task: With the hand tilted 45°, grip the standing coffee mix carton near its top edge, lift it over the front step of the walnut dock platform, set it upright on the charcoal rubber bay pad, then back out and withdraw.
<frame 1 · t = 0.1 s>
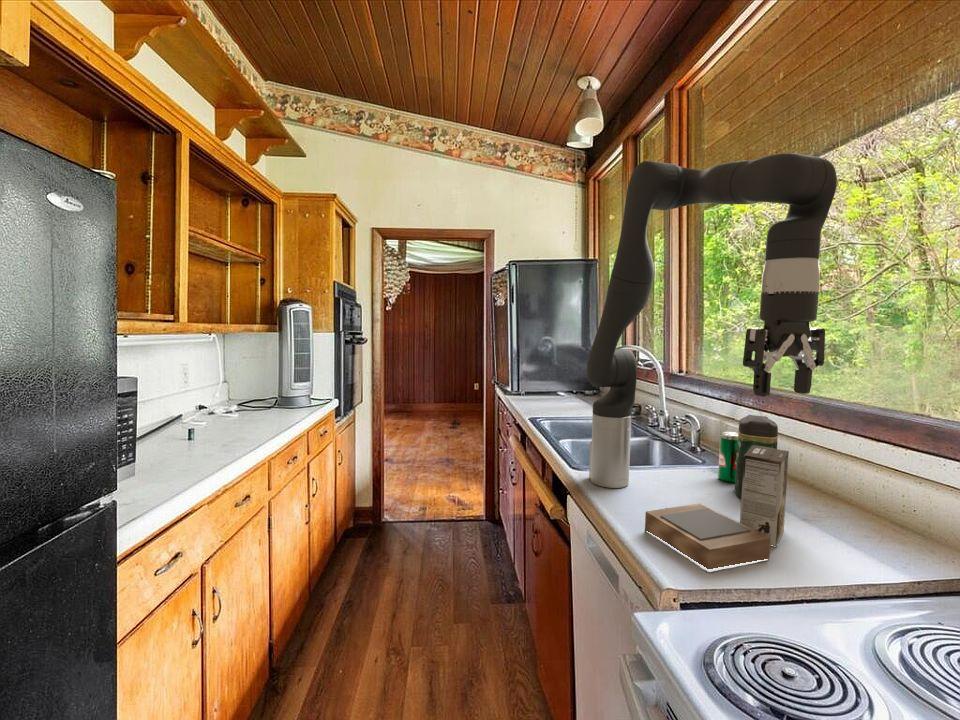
hand: (781, 394, 77), 29 cm above the worktop, tool pointing down, fingers open, 8 cm apart
soda can: (728, 480, 124), on the worktop
coffee box: (761, 535, 93), on the worktop
coffee jar: (753, 496, 113), on the worktop
dock: (703, 545, 89), on the worktop
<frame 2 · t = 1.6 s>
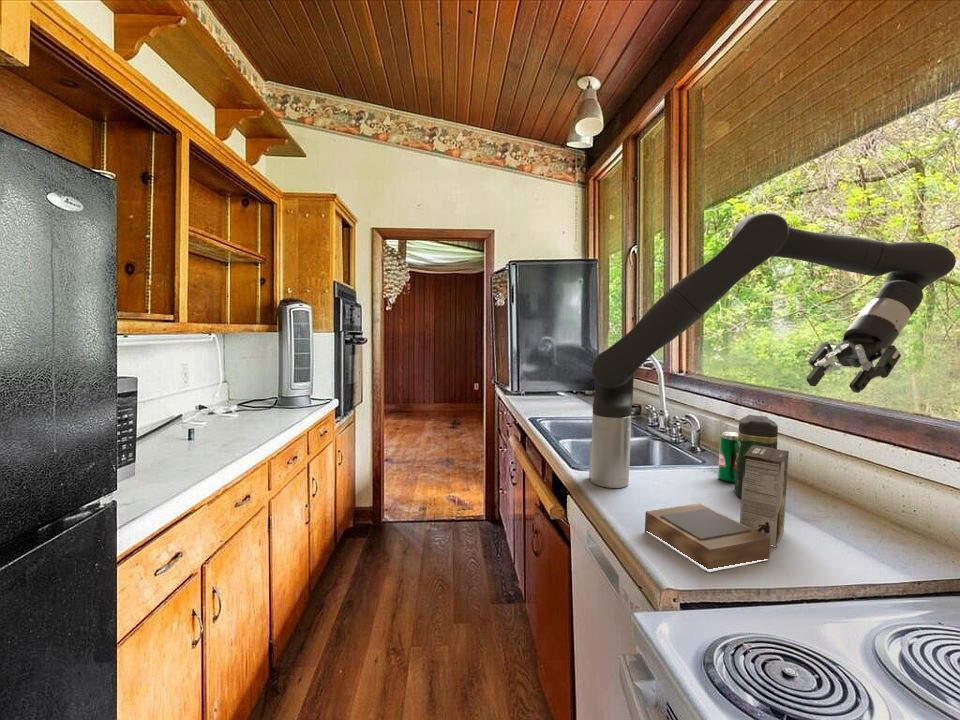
hand: (831, 386, 95), 28 cm above the worktop, tool tilted 45°, fingers open, 8 cm apart
nothing on the worktop moved.
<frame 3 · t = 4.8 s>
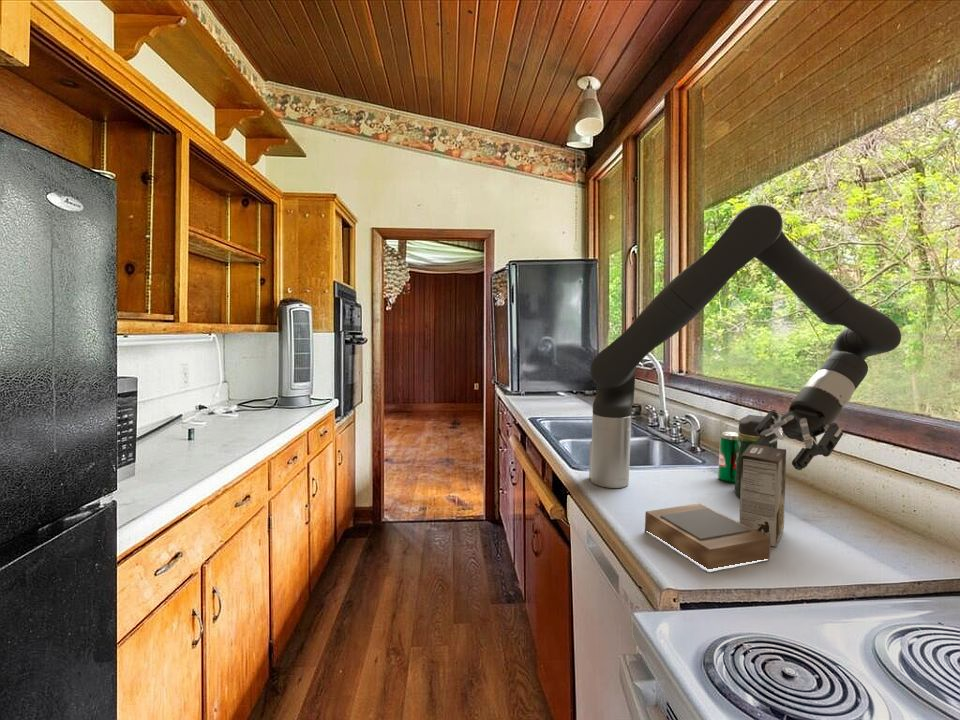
hand: (774, 460, 93), 14 cm above the worktop, tool tilted 45°, fingers open, 8 cm apart
coffee box: (761, 534, 93), on the worktop, touching gripper
everything else where it was.
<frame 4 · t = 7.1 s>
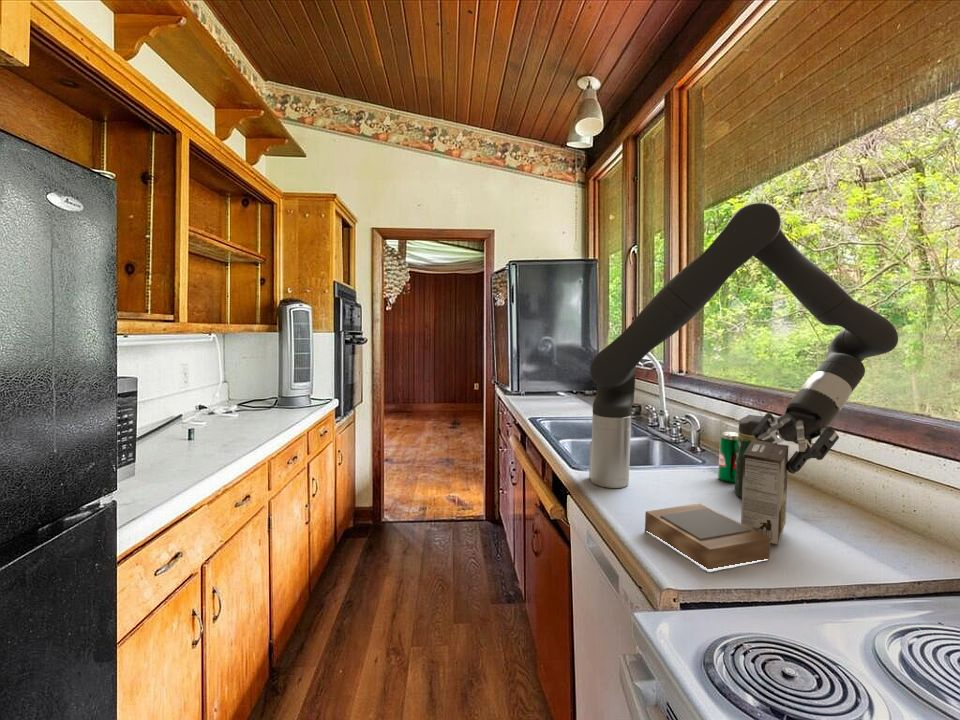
hand: (770, 464, 92), 14 cm above the worktop, tool tilted 45°, fingers closed on coffee box, 7 cm apart
coffee box: (763, 530, 93), point 1 cm above the worktop, touching gripper
everything else where it was.
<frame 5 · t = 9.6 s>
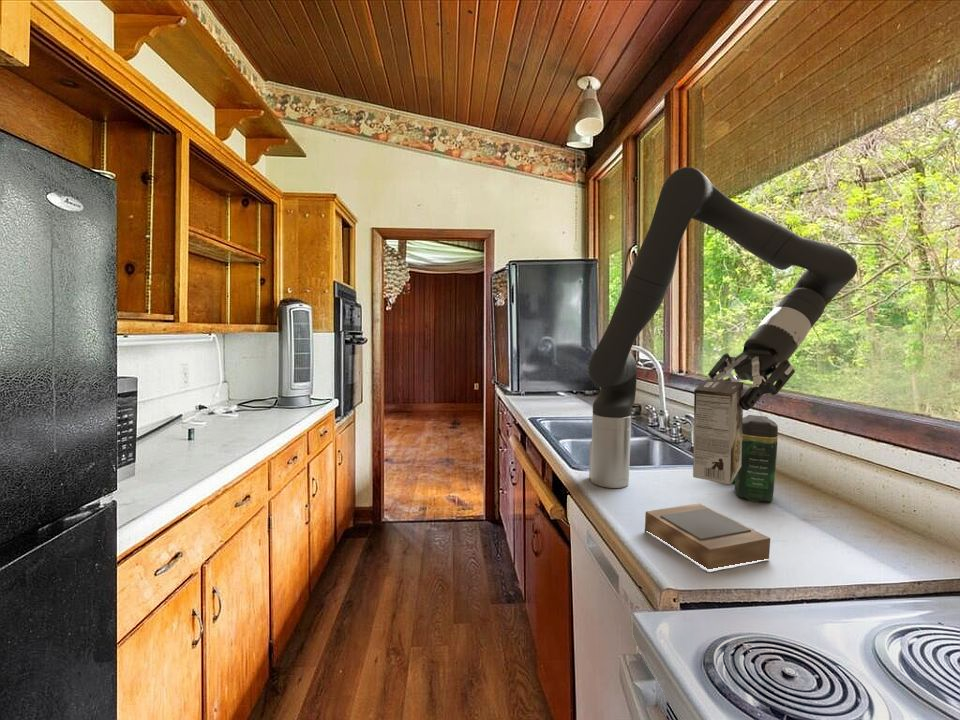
hand: (724, 402, 87), 26 cm above the worktop, tool tilted 45°, fingers closed on coffee box, 7 cm apart
coffee box: (717, 473, 88), point 13 cm above the worktop, touching gripper
everything else where it was.
when the fingers open (18 cm above the worktop, at t = 12.9 s): coffee box stays where it is, resting on dock.
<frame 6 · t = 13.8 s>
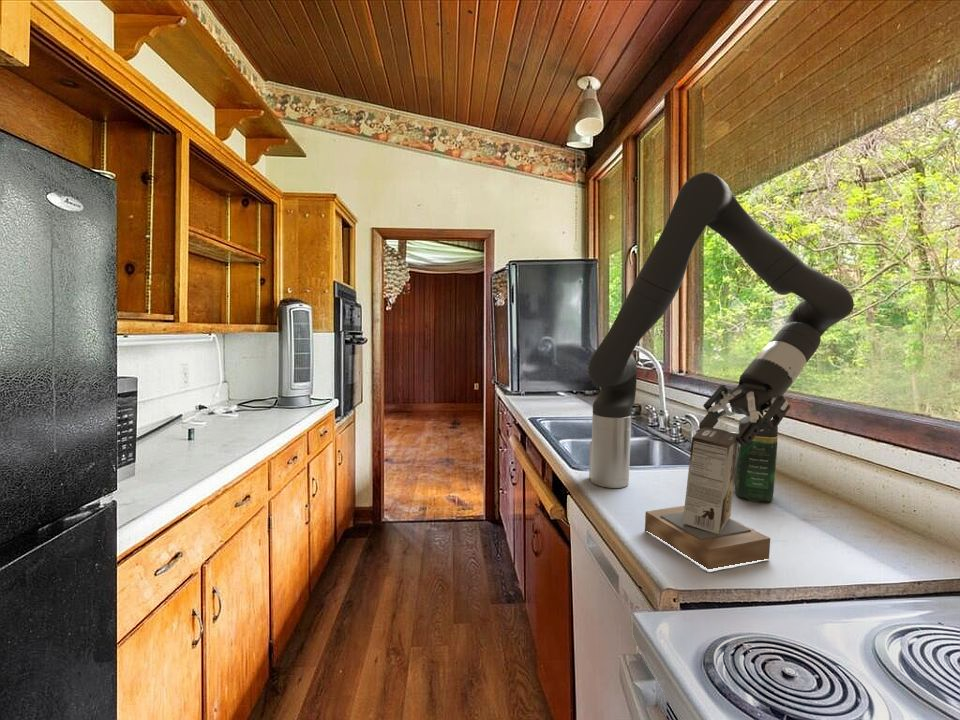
hand: (720, 436, 88), 20 cm above the worktop, tool tilted 45°, fingers open, 8 cm apart
coffee box: (706, 521, 88), point 4 cm above the worktop, touching dock, gripper
everything else where it was.
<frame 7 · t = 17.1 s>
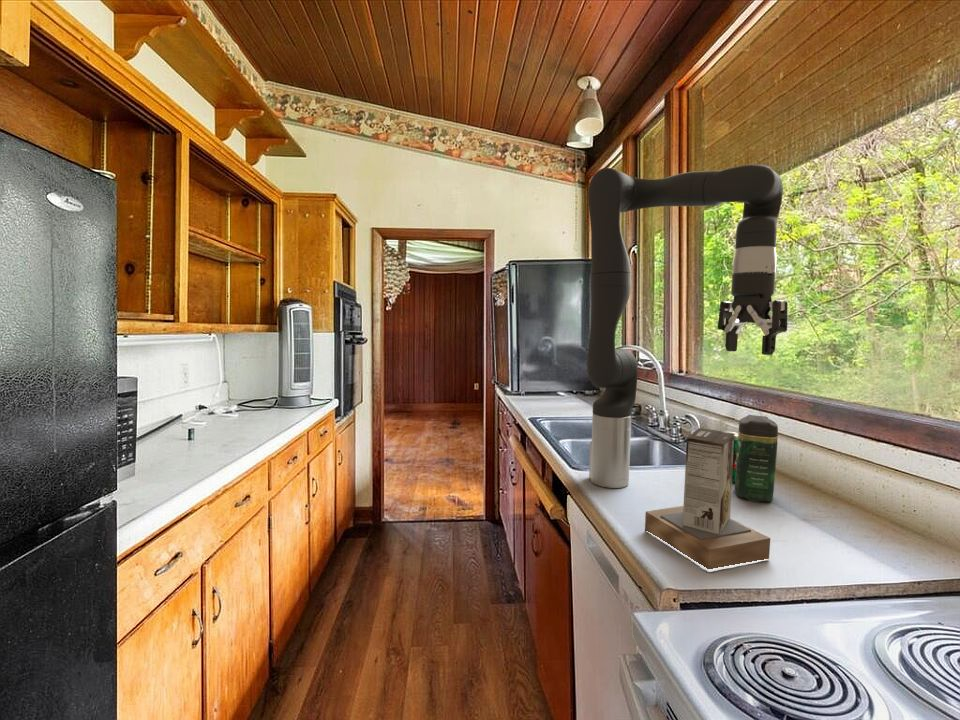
hand: (748, 352, 98), 34 cm above the worktop, tool pointing down, fingers open, 8 cm apart
coffee box: (706, 522, 88), point 4 cm above the worktop, touching dock
everything else where it was.
at the end: coffee box inside the target area on the dock (0.5 cm from its centre), point 4.1 cm above the dock's base; coffee box tilted 0°; the gripper is holding nothing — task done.
